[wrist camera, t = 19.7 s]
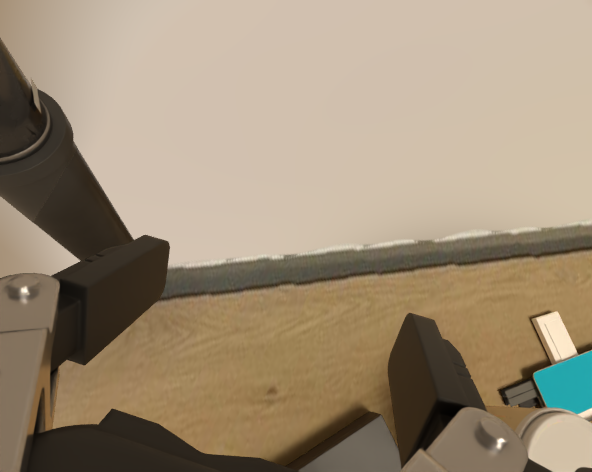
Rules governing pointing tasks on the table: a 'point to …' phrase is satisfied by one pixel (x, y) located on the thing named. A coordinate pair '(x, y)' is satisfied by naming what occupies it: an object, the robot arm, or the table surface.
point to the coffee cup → (550, 436)
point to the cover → (354, 449)
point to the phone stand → (556, 373)
